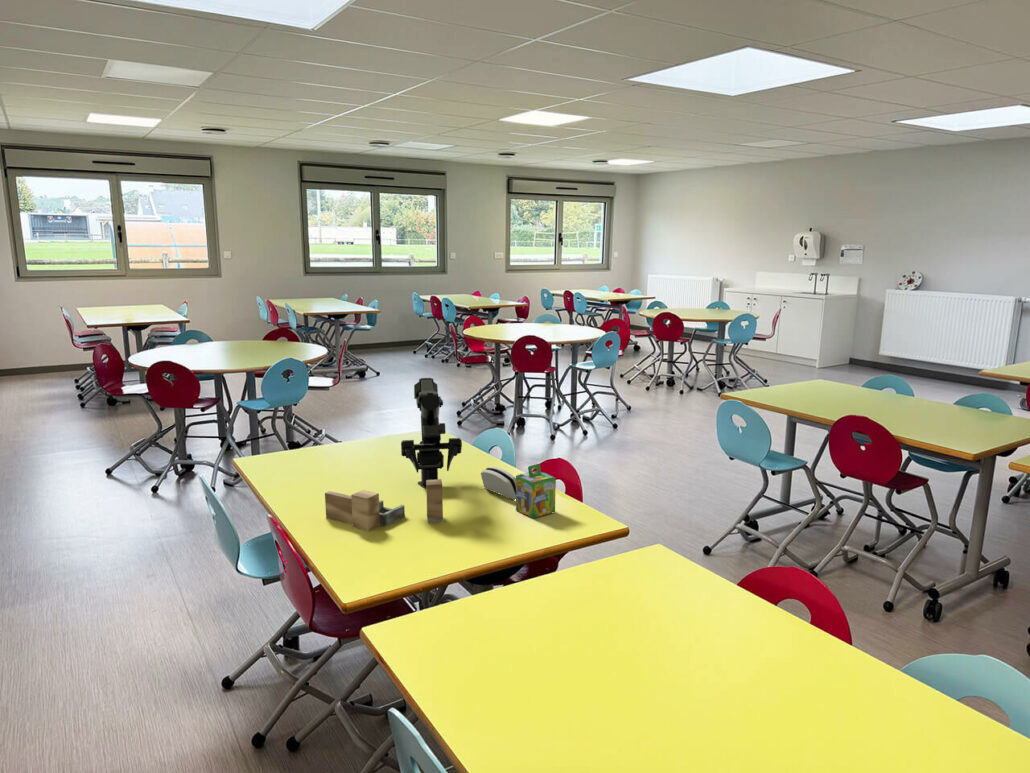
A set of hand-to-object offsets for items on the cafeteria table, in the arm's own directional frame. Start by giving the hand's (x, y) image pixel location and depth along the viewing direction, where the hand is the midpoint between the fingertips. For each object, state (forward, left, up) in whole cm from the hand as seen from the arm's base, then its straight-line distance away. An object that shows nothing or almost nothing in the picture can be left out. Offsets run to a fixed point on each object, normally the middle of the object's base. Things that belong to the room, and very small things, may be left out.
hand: (432, 471), depth 214 cm
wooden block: (+7, -3, -13) cm, 15 cm away
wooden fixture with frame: (-6, -20, -13) cm, 25 cm away
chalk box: (+16, +27, -13) cm, 34 cm away
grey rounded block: (-4, +26, -13) cm, 30 cm away
